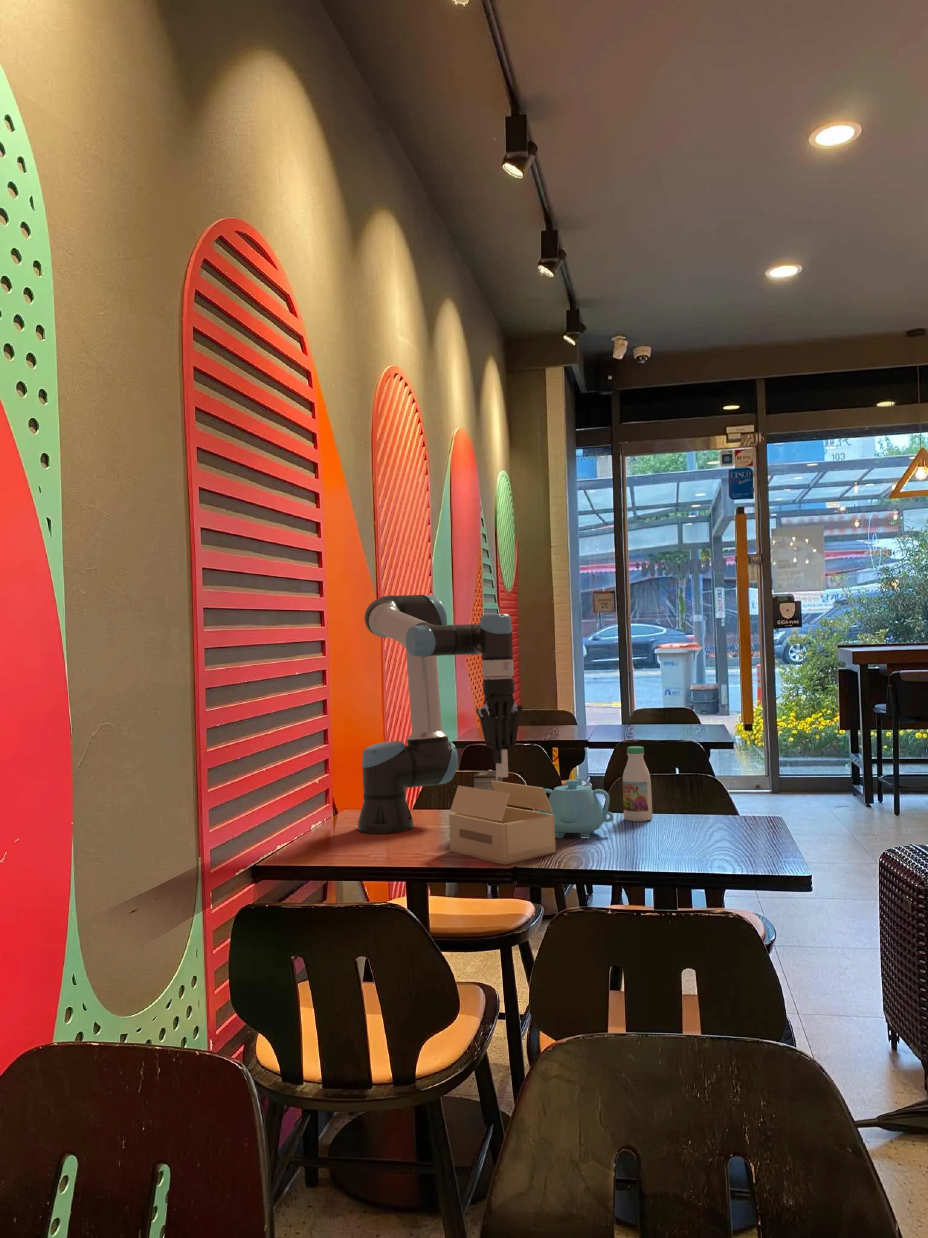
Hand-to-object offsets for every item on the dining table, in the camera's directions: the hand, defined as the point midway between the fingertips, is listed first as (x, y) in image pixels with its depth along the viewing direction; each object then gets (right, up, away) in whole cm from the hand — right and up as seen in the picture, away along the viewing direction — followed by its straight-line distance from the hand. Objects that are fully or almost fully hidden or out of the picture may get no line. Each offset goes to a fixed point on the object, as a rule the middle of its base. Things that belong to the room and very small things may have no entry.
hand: (502, 776), depth 226 cm
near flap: (-7, -9, -5) cm, 12 cm away
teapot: (+19, -18, +17) cm, 31 cm away
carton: (0, -18, -1) cm, 18 cm away
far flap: (+6, -8, +5) cm, 11 cm away
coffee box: (-2, -19, +20) cm, 28 cm away
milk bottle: (+39, -18, +34) cm, 55 cm away
